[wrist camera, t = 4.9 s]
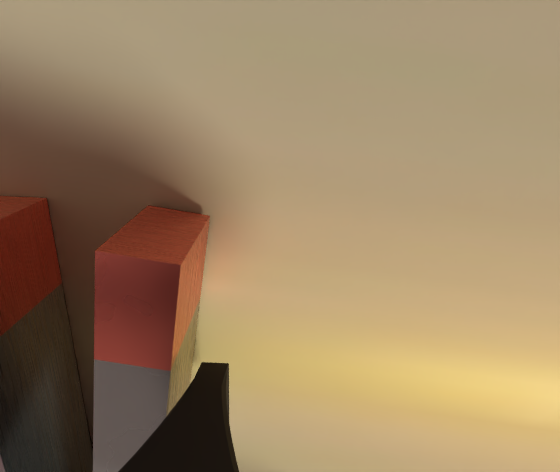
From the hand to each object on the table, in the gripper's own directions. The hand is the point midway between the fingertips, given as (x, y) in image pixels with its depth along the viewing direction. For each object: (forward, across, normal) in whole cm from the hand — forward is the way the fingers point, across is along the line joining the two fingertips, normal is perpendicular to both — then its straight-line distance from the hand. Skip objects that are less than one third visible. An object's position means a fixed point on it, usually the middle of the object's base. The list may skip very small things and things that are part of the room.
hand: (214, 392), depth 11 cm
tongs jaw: (+1, +2, +1) cm, 2 cm away
